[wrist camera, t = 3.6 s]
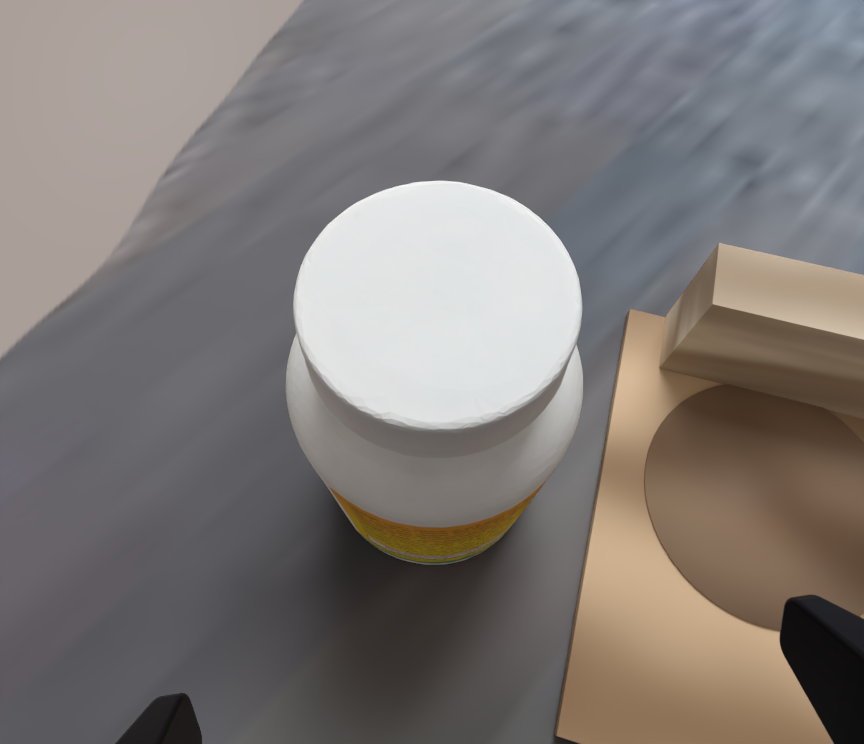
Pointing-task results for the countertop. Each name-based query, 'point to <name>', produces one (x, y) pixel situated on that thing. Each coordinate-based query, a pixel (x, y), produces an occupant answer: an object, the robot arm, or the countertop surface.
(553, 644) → the countertop surface
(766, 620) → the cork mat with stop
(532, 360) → the supplement bottle
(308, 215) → the countertop surface
